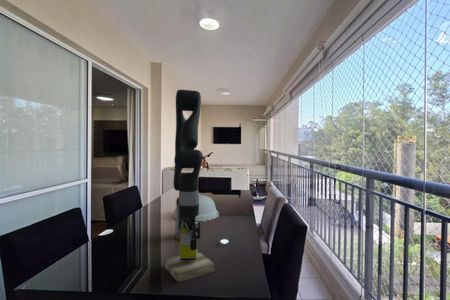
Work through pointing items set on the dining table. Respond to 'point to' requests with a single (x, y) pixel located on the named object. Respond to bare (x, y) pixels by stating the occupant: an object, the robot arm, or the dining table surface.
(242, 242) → the dining table surface
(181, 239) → the supplement box
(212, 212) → the dome cover
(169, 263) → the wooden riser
